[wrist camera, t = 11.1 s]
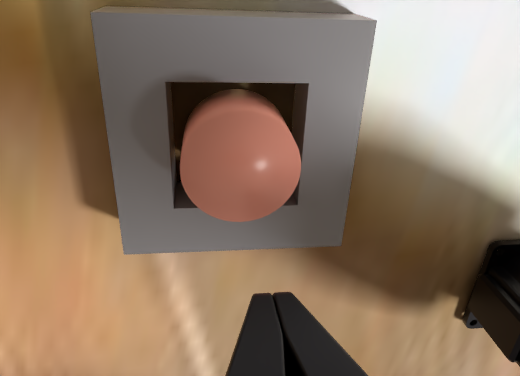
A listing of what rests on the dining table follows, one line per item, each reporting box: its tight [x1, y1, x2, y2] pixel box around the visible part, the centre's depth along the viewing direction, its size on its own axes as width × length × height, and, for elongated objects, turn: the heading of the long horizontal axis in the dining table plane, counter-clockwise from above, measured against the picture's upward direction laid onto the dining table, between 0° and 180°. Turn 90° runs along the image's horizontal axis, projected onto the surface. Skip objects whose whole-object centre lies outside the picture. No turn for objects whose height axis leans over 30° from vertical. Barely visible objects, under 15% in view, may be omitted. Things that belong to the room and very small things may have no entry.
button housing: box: [90, 6, 377, 254], centre depth 18 cm, size 10×10×2 cm
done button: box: [180, 89, 301, 222], centre depth 16 cm, size 4×4×3 cm
